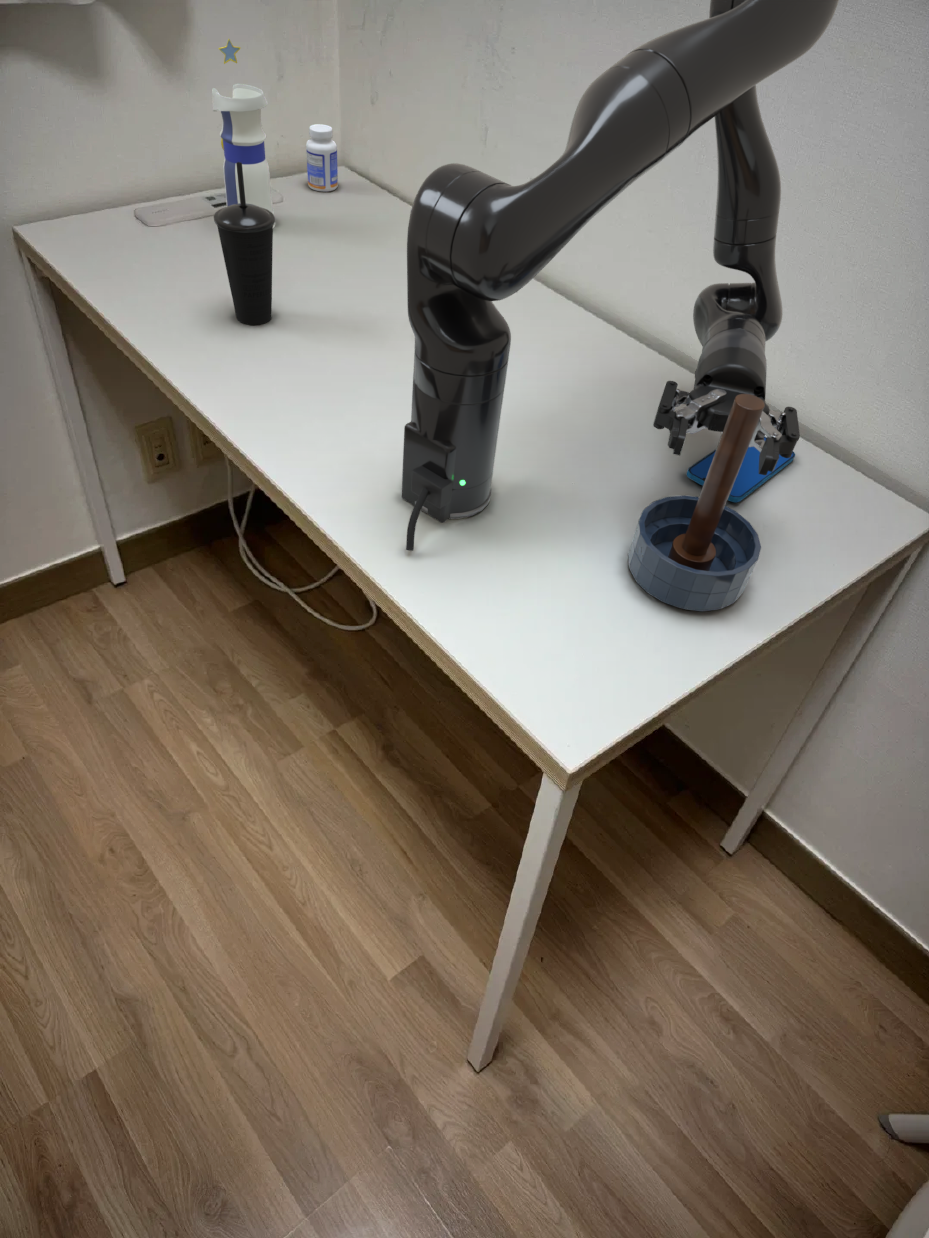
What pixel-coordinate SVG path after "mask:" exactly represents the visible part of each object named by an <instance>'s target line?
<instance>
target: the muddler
mask: <svg viewBox="0 0 929 1238" xmlns="http://www.w3.org/2000/svg"><path fill="white" fill-rule="evenodd" d="M764 406H765V404H764V402H763V401H762V400H761V399H760V398H758V397H756V396H754V395H750V394H740V395H737V396H736V397H735V400H734V402H733V405H732V408H731V411H730V413H729V416H728V419H727V422H726V424H725V427H724V430H723V432H721V436H720V438H719V441H718V443H717V446H716V449H715V450H716V452H715V455H714V457H713V460H712V463H711V466H710V468H709V471H708V474H707V477H706V479H705V482H704V485H703V486H702V487H701V490H700V493H699V496H698V497H699V499H698V501H697V504H696V507H695V510H694V512H693V515H692V518H691V521H690V523H689V526H688V529H687V532H686V534H681V535H679V536H677V537H676V538H675V539H674V541H673V544H672V547H671V550H670V552H669V555H668V558H670V559H672V560H673V561H675V562H677V563H679V564H681V565H684V566H687V567H690V568H693V569H697V570H704V571H709V570H710V567H711V565H712V562H713V560H714V557H715V555H716V549H715V547H714V545H713V544H712V543H711V540H712V538H713V535H714V533H715V530H716V528H717V525H718V523H719V520H720V518H721V515H722V512H723V510H724V507H725V506H727V503H728V501H729V500H728V497H729V495H730V492H731V490H732V487H733V485H734V482H735V480H736V477H737V475H738V472H739V470H740V467H741V465H742V462H743V459H744V457H745V454H746V452H747V449H748V447H749V444H750V442H751V439H752V437H753V434H754V432H755V429H756V427H757V424H758V422H759V419H760V417H761V414H762V411H763V409H764Z"/></svg>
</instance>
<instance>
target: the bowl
mask: <svg viewBox="0 0 929 1238" xmlns="http://www.w3.org/2000/svg"><path fill="white" fill-rule="evenodd" d="M698 499H699V496H694V495H686V494H685V495H682V494H681V495H673V496H672V495H671V496H665V497H663V498H659V499H657V500H654V501H652V502H651V503H650V504H649V505H647V506H646V507H645V508H644V509H643V510H642V512H641V514H640V516H639V519H638V522H637V525H636V528H635V532H634V534H633V538H632V541H631V544H630V548H629V551H628V554H627V560H628V569H629V571H630V573H631V574H632V577H633V578H634V581H636V583H637V584H638V585H639V586H640V587H641V588H642V589H643V590H644V591H645V592H646V593H647V594H649V595H650V596H652V597H653V598H656V599H657V600H658V601H660V602H662V603H664V604H666V605H669V606H673V607H675V608H679V609H682V610H687V611H695V612H708V611H717V610H718V611H719V610H722V609H723V608H726V607H728V606H730V605H733V604H734V603H735V602H736V601H738V599H739V598H740V597H741V596H742V595H743V593H744V592H745V589H746V587H747V584H748V583H749V580H750V578H751V576H752V574H753V572H754V570H755V567H756V565H757V563H758V561H759V559H760V554H761V550H762V544H761V541H760V537H759V533H758V532H757V530H755V528H754V526H753V525H752V524H751V522H749V521H748V519H746V518H745V517H744V516H743V515H741V514H740V512H737V511H736V510H734V509H732V508H731V507H729V506H727V505H725V507H724V510H723V512H722V515H721V518H720V520H719V523H718V525H717V528H716V530H715V533H714V535H713V538H712V540H711V543H712V544H713V545H714V547H715V549H716V555H715V557H714V560H713V562H712V565H711V567H710V570H709V571H704V570H697V569H693V568H690V567H687V566H684V565H681V564H679V563H677V562H675V561H673V560H672V559H670V558H668V555H669V552H670V550H671V547H672V544H673V541H674V539H675V538H676V537H677V536H679V535H681V534H686V532H687V529H688V526H689V523H690V521H691V518H692V515H693V512H694V510H695V507H696V504H697V501H698Z"/></svg>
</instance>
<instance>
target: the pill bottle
mask: <svg viewBox="0 0 929 1238" xmlns="http://www.w3.org/2000/svg"><path fill="white" fill-rule="evenodd" d="M308 130H309V131H308V135H309V137H310V138H309V139H308V140H306V143H305V150H306V153H305V154H306V172H307V185H308V188H309V189H311V190H312V191H315V192H333V191H335V190H336V189H338V185H339V175H338V174H339V172H338V171H339V168H338V145H337V143H336V141H334V140H333V136H334V135H333V134H334V131H333V127H332V126H330V125H328V124H324V123H323V124H322V123H316V124H314V123H313V124H311V125H310V126H309V129H308Z"/></svg>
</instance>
